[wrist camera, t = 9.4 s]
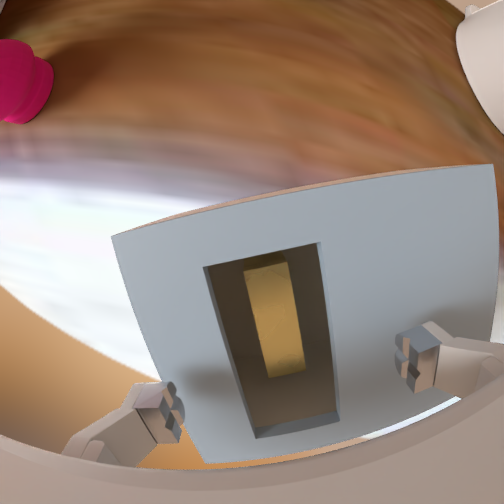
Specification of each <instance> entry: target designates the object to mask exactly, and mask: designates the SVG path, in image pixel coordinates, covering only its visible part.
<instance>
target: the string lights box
mask: <svg viewBox="0 0 504 504" xmlns="http://www.w3.org/2000/svg"><path fill="white" fill-rule="evenodd" d="M5 2H6V0H0V13H1V11H2V9H3V6H4V4H5Z"/></svg>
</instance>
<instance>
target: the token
mask: <svg viewBox="0 0 504 504" xmlns="http://www.w3.org/2000/svg"><path fill="white" fill-rule="evenodd" d="M243 272H244V277H245V281H246V285H247V289H248V294H249V298H250V302H251V307H252V311H253V315H254V319H255V323H256V328H257V332H258V336H259V340H260V344H261V348H262V353H263V357H264V361H265V365H266V369H267V373H268V377H269V378H273V377H278V376H283V375H287V374H292V373H297V372H301V371H305V370H306V366H305V360H304V353H303V347H302V341H301V335H300V329H299V323H298V318H297V312H296V306H295V301H294V295H293V289H292V284H291V279H290V273H289V268H288V263H287V260H286V259H285V257H284V255H283V253H282V251H281V250H280V251H275V252H270V253H266V254H261V255H256V256H252V257H247V258H244V268H243Z"/></svg>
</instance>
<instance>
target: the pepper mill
mask: <svg viewBox="0 0 504 504" xmlns="http://www.w3.org/2000/svg"><path fill="white" fill-rule="evenodd" d="M53 79H54V73H53V68H52V66H51V65H50V64H49V63H48V62H46V61H44V60H43V59H41V58H39V57H34V53H33V50H32V49H31V47H30V46H29V45H28V44H26V43H24V42H21V41H19V40H12V39H1V40H0V121H1V120H5V121H7V122H11V123H16V124H23V123H26V122H28V121H29V120H31V119H32V118H34V117H35V115H36V114H37V113H38V112H39V111H40V110H41V109H42V107H43V106H44V104H45V103H46V101H47V99H48V97H49V95H50V92H51V89H52V86H53Z"/></svg>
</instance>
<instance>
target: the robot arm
mask: <svg viewBox="0 0 504 504" xmlns="http://www.w3.org/2000/svg"><path fill="white" fill-rule="evenodd" d="M456 43H457V49H458V54H459V57H460V61H461V64H462V66H463V69H464V72H465V74H466V77H467V79H468V81H469V83H470V85H471V87H472V89H473V91H474V93H475V95H476V97H477V99H478V101H479V102H480V104H481V106H482V107H483V109H484V110H485V112H486V114H487V115H488V116H489V118H490V119H491V121H492V122H493V123H494V124H495V126H496V127H497V128H498V129H499V130H500V131H501V132H502V133H503V134H504V0H499V1H497V2H494V3H492V4H490V5H488V6H486V7H484V8H482V9H480V8H478V7H477V6H475V5H469V6H467V7H466V9H465V19H464V21H462V22H461V23H460V24H459V26H458V28H457V32H456ZM395 345H396V346H397V347H398V349H397V351H396V353H395V366H396V369H397V371H398V373H399V375H400V376H401V377H403V378H407V380H406V384H407V385H408V387H409V388H410V389H411V391H412V392H413V393H414V394H415V393H418V392H420V391H423V390H425V389H427V388H430V387H432V386H434V387H435V388H438V389H440V390H442V391H445V392H447V393H450V394H452V395H454V396H457V397H459V398H462V399H461V400H459V401H458V402H456V403H454V404H452V405H450V406H448V407H446V408H444V409H442V410H440V411H439V412H436V413H434V414H432V415H430V416H428V417H426V418H424V419H422V420H420V421H417V422H415V423H413V424H410V425H408V426H406V427H403V428H401V429H398V430H396V431H393V432H390V433H388V434H385V435H382V436H379V437H377V438H374V439H371V440H368V441H365V442H362V443H358V444H355V445H352V446H348V447H345V448H341V449H338V450H334V451H331V452H326V453H323V454H318V455H314V456H309V457H305V458H300V459H295V460H290V461H284V462H278V463H271V464H265V465H257V466H248V467H238V468H226V469H208V470H207V469H206V470H170V469H149V468H138V467H136V466H137V465H138V464H139V463H140V462H141V461H142V460H143V459H144V458H145V457H146V456H147V455H148V454H149V453H150V452H151V451H152V450H153V449H154V448H155V447H156V446H157V444H170V443H172V444H173V443H179V439H180V436H181V432H182V430H181V428H180V425H181V424H183V423H184V420H185V408H184V405H183V402H182V400H181V399H180V398H179V397H177V396H176V392H177V389H176V387H175V385H174V383H173V382H171V381H168V382H150V383H149V382H148V383H135V384H133V386H132V388H131V389H130V391H129V393H128V395H127V396H126V398H125V400H124V402H123V404H122V405H121V407H120V409H115V410H114V411H112V412H110V413H109V414H107V415H106V416H104V417H102V418H101V419H99V420H98V421H96V422H94V423H93V424H91V425H90V426H88V427H86V428H85V429H83V430H81V431H80V432H78V433H76V434H75V435H73V436H72V437H71V439H70V440H69V442H68V443H67V445H66V447H65V448H64V450H63V452H62V453H61V454H57V453H53V452H49V451H46V450H42V449H39V448H36V447H33V446H30V445H27V444H24V443H20V442H18V441H15V440H13V439H10V438H7V437H5V436H3V435H0V504H504V344H500V343H493V342H486V341H480V340H474V339H467V338H461V337H456V338H453V337H452V336H451V335H449V334H448V333H447V332H446V331H444V330H443V329H442V328H441V327H439V326H438V325H437V324H435V323H434V322H433V321H428V322H426V323H423V324H421V325H419V326H417V327H414V328H412V329H409V330H406V331H404V332H401V333H398V334H396V337H395Z"/></svg>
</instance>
